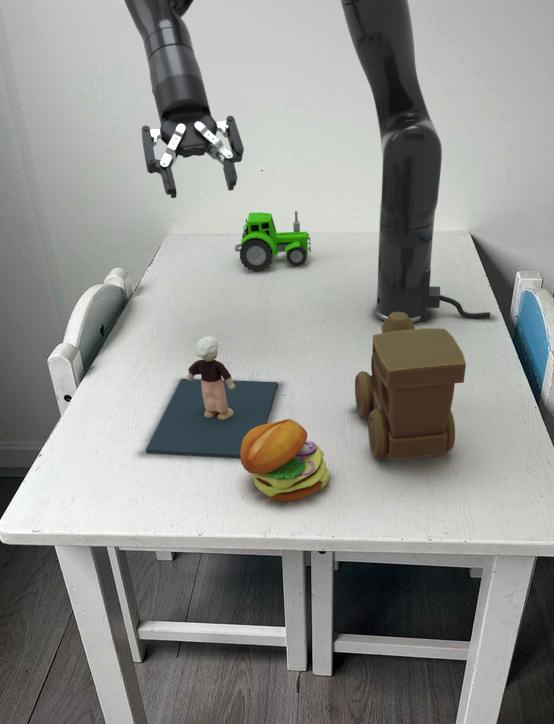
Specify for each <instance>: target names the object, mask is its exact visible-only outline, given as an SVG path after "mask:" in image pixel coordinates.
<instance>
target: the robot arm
mask: <svg viewBox="0 0 554 724" xmlns="http://www.w3.org/2000/svg"><path fill="white" fill-rule="evenodd" d="M123 1H124V4H125V6H126V9H127V10H128V12H129V15H130V17H131V20H132V21H133V23H134V26H135V28H136V30H137V31H138V33H139V35H140V37H141V39H142V42H143V47H144V51H145V55H146V60H147V64H148V69H149V78H150V85H151V92H152V95H153V98H154V101H155V105H156V110H157V114H158V119H159V123H160V127H159V128H152V129H151V128H150V126H148V125H143V126H142V127H141V142H142V147H143V154H144V161H145V165H146V166H145V167H146V171H147V173H149V174H154V173H156V174H159V175H160V176H161V179H162V184H163V188H164V192H165V194H166V195H167V196H170V198H171V199H176V198H177V193H178V191H177V187H176V182H175V178H174V174H173V170H172V168H173V166H174V165H175V163H176V161H177V160H178V158H179V156H180V157H182V158H183V159H186V158H190V157H192V156H197V157H201V156H204V155H205V154H207V155H208V156H209V157H210V158H212V159H213V160H216V161H217V162H219V163H220V164H221V165H222V170H223V175H224V178H225V183H226V188H227V191H228V192H229V191H234V189H235V186H237V182H238V174H237V170H236V166H235V163H240V162H242V161H243V155H244V151H245V148H244V145H243V142H242V138H241V136H240V135H241V134H240V131H239V129H238V126H237V122H236V119H235V117H234V116H233V115H228V116H227V117H226V118H225V119H224V120H219V121H216V120H215V119H214V118H213V115H212V112H211V109H210V105H209V101H208V96H207V92H206V88H205V84H204V80H203V76H202V71H201V68H200V65H199V62H198V61H197V58H196V54H195V50H194V46H193V41H192V39H191V34H190V31H189V28H188V25H187V24H186V22H185V21H184V20H183V17H184V16H185V14H186V13H187V12H188V11H189V9H190V7H191V6H192V4H193V3H194V2H195V0H123ZM340 4H341V8H342V11H343V16H344V19H345V24H346V27H347V30H348V33H349V37H350V39H351V42H352V45H353V48H354V50H355V53H356V55H357V59H358V61H359V64H360V66H361V68H362V70H363V72H364V75H365V77H366V80H367V82H368V85H369V87H370V90H371V93H372V97H373V102H374V105H375V106H374V107H375V111H376V117H377V123H378V129H379V135H380V148H381V156H382V172H381V173H382V176H381V198H380V206H379V228H378V229H379V231H378V259H377V260H378V261H377V286H376V287H377V290H376V306H375V315H376V316H377V318H378V319H380V320H382V321H383V322H385V321H386V319H387V318H388V316H389V315H390V314H391V313H393V312H403V313H405V314H407V315H408V317H409V318H410V320H411V321H412V323H413V324H415V323H418V322H426V321H427V320H428V310H429V309H440V303H441V302H443V303H448V304H450V305H452V306H454V307H455V308H456V310H457V312H458V314H459V315H460V316H462V317H463V318H467V319H483V318H491V312H489V311H488V312H487V311H486V312H478V313H477V312H475V313H470V312H467V311H465V310H464V308H463V306H462V303H460V302H458V301H457V300H456V299H453V298H452V297H448V296H445V295H442V294H441V286H435V285H434V286H433V285H431V286H430V284H431V272H432V265H431V263H432V253H433V241H434V240H433V239H434V226H435V216H436V209H437V207H438V203H439V192H440V181H441V172H442V158H443V157H442V156H443V148H442V147H443V146H442V142H441V140H440V137H439V135H438V132H437V129H436V127H435V125H434V123H433V120H432V119H431V116H430V114H429V111H428V108H427V104H426V102H425V99H424V95H423V92H422V89H421V85H420V82H419V78H418V72H417V65H416V53H415V40H414V31H413V22H412V16H411V10H410V5H409V0H340ZM218 132H220V133H221V135H222V136H223V137H224V138H226V139H227V141H228V144H229V147H230V149H229V147H227V146H225V145H224V144H223V142H222V140H221V139H220V138H219V137H218V136H217V133H218ZM158 140H161V141H162V142H163V144H165V145H166V149H165V152H164V154H163V155H162V158H161V159H156V154H155V150H154V147H156V146H157V144H158Z"/></svg>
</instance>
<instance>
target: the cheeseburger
mask: <svg viewBox="0 0 554 724" xmlns="http://www.w3.org/2000/svg"><path fill="white" fill-rule="evenodd" d="M240 456H241V458H240V463H241V466H242V467H243V469H244V470H245V471H247V472H248V473H249V474H251V475H252V478H253V481H254V485H255V487H256V488H257V489H258V490H259V491H260V492H261V493H262V494H263V495H264V496H266V497H268V498H270V499H271V500H273V501H277V502H285V503H286V502H291V501H296V500H300V499H304V498H306V497H309V496H311V495H313V494H315V493H316V492H318V491H319V490H322V489H324V488H325V486H326V485H327V484H328V482H329V481H330V471H329V469H328V468H327V463H326V461H325V460H324V457H325V453H324V452H323V450H322V449H321V447H320V446H318V445H317V444H316V443H315V442H313V441H309V440H308V432H307V431H306V429H305V428H304V427H303V426H302V425H301V424H300V423H299V422H298V421H295V420H293V419H290V418H288V419H287V418H286V419H282V420H278V421H275V422H269V423H266V424H264V425H261V426H258V427H255V428H253V429H252V430H250V431H249V432H248V433H247V434H246V436H245V437H244V439H243V441H242V446H241V452H240Z"/></svg>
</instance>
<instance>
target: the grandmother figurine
mask: <svg viewBox="0 0 554 724" xmlns="http://www.w3.org/2000/svg"><path fill="white" fill-rule="evenodd" d="M218 350H219V344H218V340H217V339H216V338H215V337H213V336H210V335H208V336H204V337H202V338H201V339H200V340H199V341H198V343H197V345H196V347H195V351H194V353H195V356H197V357H199V358H201V359H198V360H196V361H194V362H193V363H192V364H191V365H190V366H189V367H188V369H187V370H188V373H187V374H188V375H186V379H188V380H189V381H192V380H193V379H195V377H196V376H197V375H200V376H201V377H200V379H201V383H202V395H203V400H204V405H205V409H206V412H205V414H204V416H205V417H207V418H212V417H214V416H215V415H216V414H217V413H218V412H219V414H218V419H221V420H225V419H227V418H229V417H231V416H232V415H233V414H234V412H233V410H232V409H231V408H228V404H227V399H226V394H225V387H224V383H223V380H225V381H226V384H227V385H228V388H229V389H230V390H233V389H235V384H234V383H233V380H234V379H233V378H232V375H231V373H230V372H229V370H228V369H227V367H226V366H225V364H224V363H223V362H221V361H218V360H217V357H218Z"/></svg>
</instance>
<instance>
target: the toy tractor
mask: <svg viewBox="0 0 554 724" xmlns="http://www.w3.org/2000/svg"><path fill="white" fill-rule="evenodd" d="M298 215H299V214H298V211H294V221H293V223H292V225H293V227H292V228H293V231H286V232H285V231H284V232H277V229H276V225H275V221H274V218H273V214H272V213H268V212H262V211H261V212H249V213H248V217H247V218H245V224H244V225H243V228H242V236H241V239H240V243H238V244H237V243H236V244H235V245H234V251H235V252H238V253H239V260H240V262H241V264H242V265H243V267H244V268H246V269H247V270H248V271H252V272H253V273H256V272H257V273H260V272H261V271H265V270H266V269H268V268H269V267H270V265H271V264H272V261H273V258H274V256H276V255H278V254H279V253H285V254H286V256H285V258H286V262H288V265H290V266H293V267H300V266H302V265H304V264H305V263H306V261H307V258H308V253H309V252H312V246H311V245H312V243H311V236H310V234H309V233H308V231H301V223H300V221H299V219H298V218H299V217H298Z"/></svg>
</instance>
